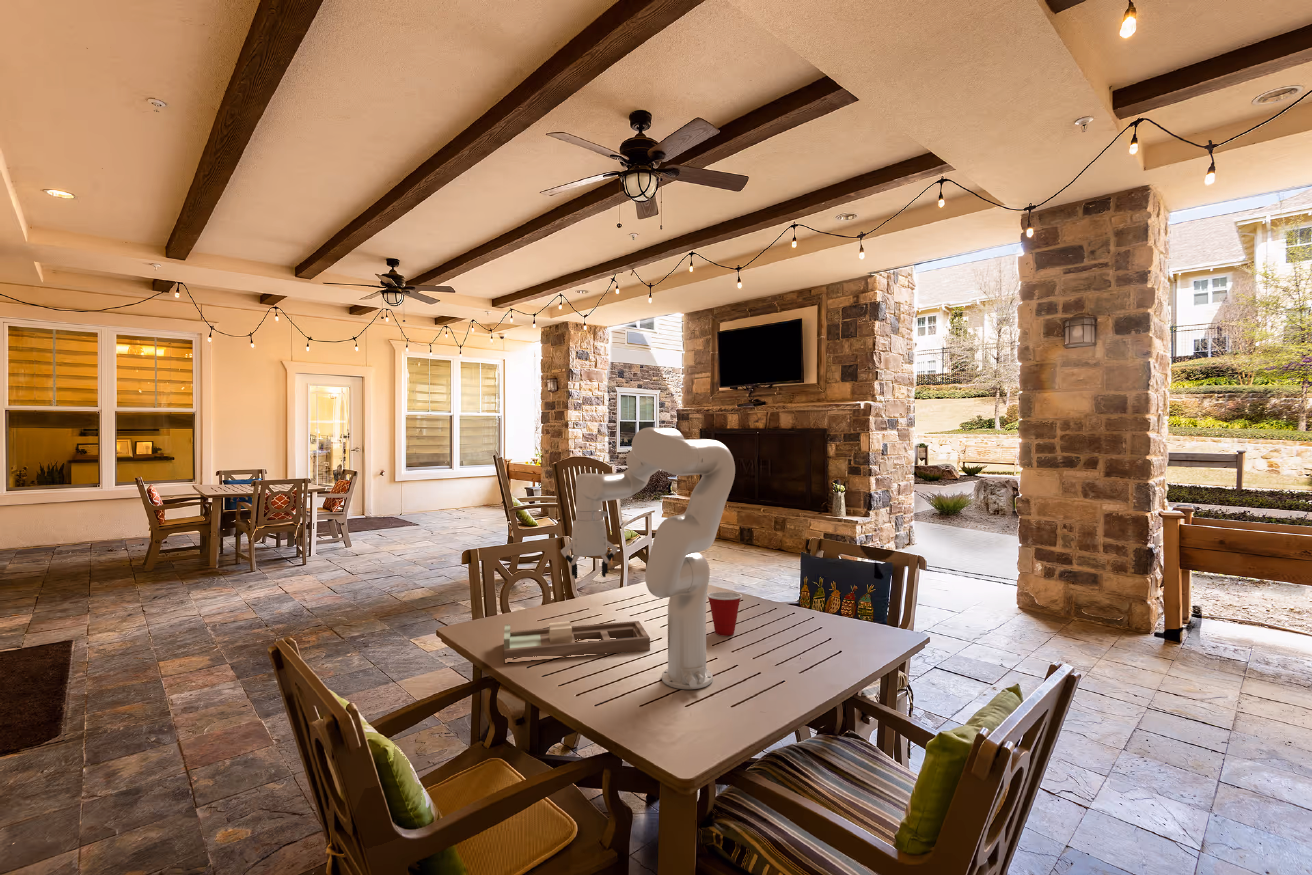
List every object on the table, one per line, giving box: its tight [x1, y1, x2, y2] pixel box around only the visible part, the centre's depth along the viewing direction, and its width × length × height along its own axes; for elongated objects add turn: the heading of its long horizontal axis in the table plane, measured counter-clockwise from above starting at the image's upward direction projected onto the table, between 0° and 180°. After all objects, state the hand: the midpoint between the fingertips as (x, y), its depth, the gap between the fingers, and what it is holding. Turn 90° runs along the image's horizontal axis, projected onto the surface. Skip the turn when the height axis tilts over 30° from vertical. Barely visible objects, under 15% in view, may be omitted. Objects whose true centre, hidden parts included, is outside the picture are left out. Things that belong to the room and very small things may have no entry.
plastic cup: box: [706, 591, 743, 637], centre depth 182 cm, size 11×11×12 cm
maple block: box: [548, 621, 572, 644], centre depth 169 cm, size 6×6×4 cm
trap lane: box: [503, 620, 651, 660], centre depth 170 cm, size 16×40×6 cm, turn 103°
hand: (589, 576), depth 171 cm, fingers open, 7 cm apart
